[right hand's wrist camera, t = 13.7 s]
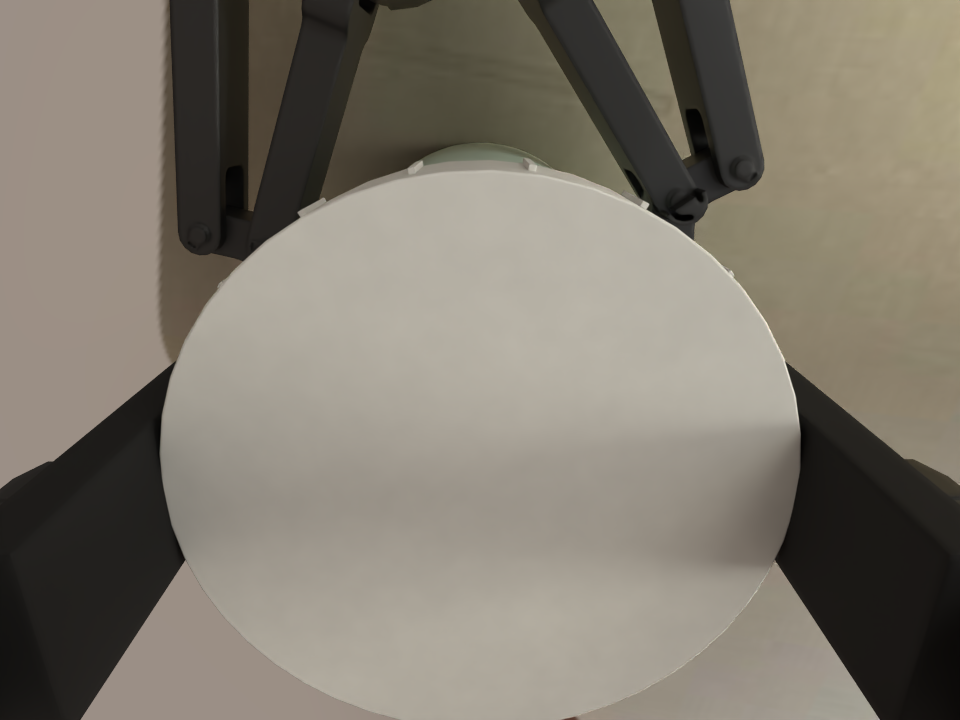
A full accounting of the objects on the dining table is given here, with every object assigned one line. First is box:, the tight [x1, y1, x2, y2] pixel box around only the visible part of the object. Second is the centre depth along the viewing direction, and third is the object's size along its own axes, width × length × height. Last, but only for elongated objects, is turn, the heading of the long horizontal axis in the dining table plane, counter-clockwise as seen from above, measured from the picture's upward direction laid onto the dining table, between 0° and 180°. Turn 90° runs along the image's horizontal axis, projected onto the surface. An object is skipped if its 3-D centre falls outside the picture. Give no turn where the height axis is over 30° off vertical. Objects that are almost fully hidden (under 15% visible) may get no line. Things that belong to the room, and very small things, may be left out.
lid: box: [160, 158, 801, 720], centre depth 11 cm, size 10×10×2 cm
